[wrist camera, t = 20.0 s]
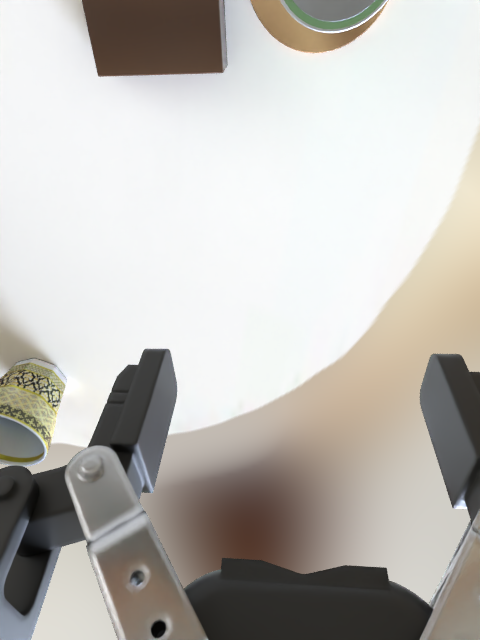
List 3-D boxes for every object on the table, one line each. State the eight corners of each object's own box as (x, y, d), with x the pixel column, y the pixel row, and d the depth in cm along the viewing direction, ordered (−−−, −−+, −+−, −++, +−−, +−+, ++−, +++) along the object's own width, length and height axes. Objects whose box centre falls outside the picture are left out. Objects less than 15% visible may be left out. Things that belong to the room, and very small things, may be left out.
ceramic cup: (87, 366, 54) (54, 433, 46) (71, 410, 60) (39, 476, 52) (-19, 326, 51) (-74, 390, 44) (-25, 377, 57) (-74, 440, 49)
